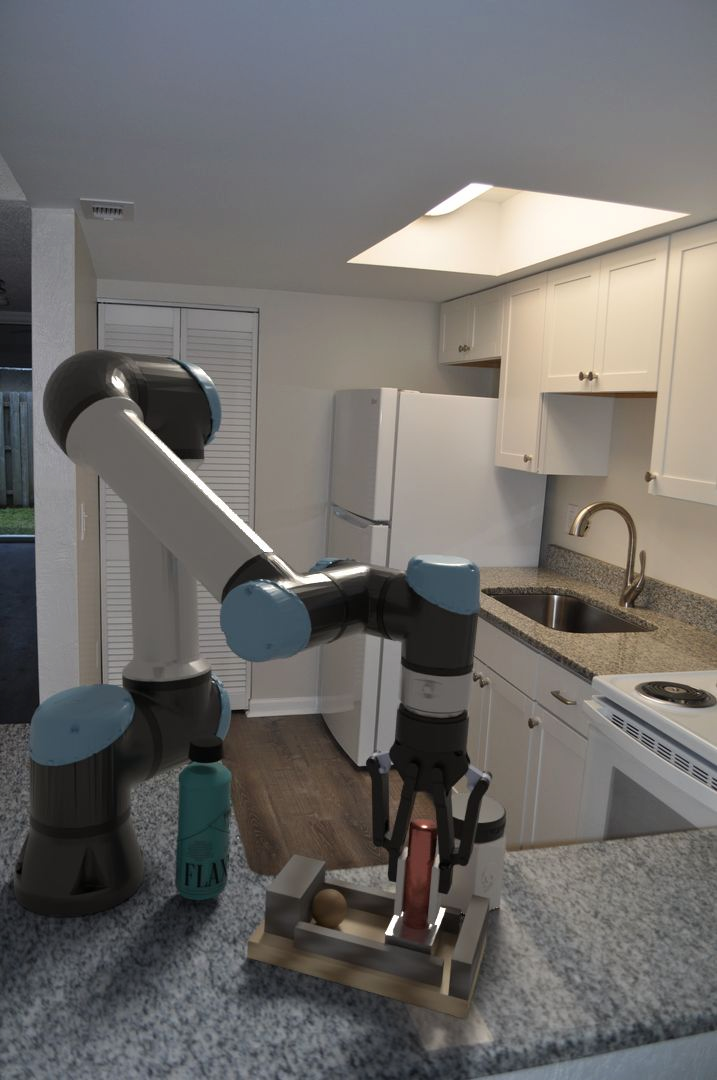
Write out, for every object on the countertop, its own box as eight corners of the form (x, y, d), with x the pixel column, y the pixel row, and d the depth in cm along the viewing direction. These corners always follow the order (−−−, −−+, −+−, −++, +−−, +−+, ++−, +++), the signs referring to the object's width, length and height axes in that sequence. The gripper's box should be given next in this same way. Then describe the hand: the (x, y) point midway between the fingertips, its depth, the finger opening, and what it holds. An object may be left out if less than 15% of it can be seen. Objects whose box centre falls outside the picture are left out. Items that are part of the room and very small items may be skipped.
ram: (383, 960, 86) (392, 836, 84) (400, 922, 92) (409, 806, 90) (429, 972, 84) (439, 846, 82) (443, 933, 91) (453, 816, 89)
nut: (309, 935, 90) (302, 901, 90) (322, 915, 94) (315, 882, 93) (343, 935, 88) (336, 900, 88) (354, 915, 92) (347, 881, 92)
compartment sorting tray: (247, 957, 88) (249, 897, 87) (289, 897, 99) (292, 844, 98) (466, 1019, 81) (472, 954, 80) (485, 947, 92) (490, 890, 91)
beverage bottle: (174, 915, 94) (179, 752, 91) (172, 883, 101) (176, 729, 98) (231, 909, 96) (237, 749, 93) (224, 878, 102) (231, 727, 100)
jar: (459, 925, 96) (467, 830, 94) (417, 889, 103) (424, 800, 101) (514, 904, 101) (523, 813, 99) (470, 871, 108) (478, 786, 106)
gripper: (348, 703, 83) (335, 914, 87) (506, 731, 78) (485, 953, 82) (370, 682, 90) (357, 878, 94) (516, 706, 85) (496, 911, 89)
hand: (416, 912), depth 88 cm, fingers closed on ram, 3 cm apart
